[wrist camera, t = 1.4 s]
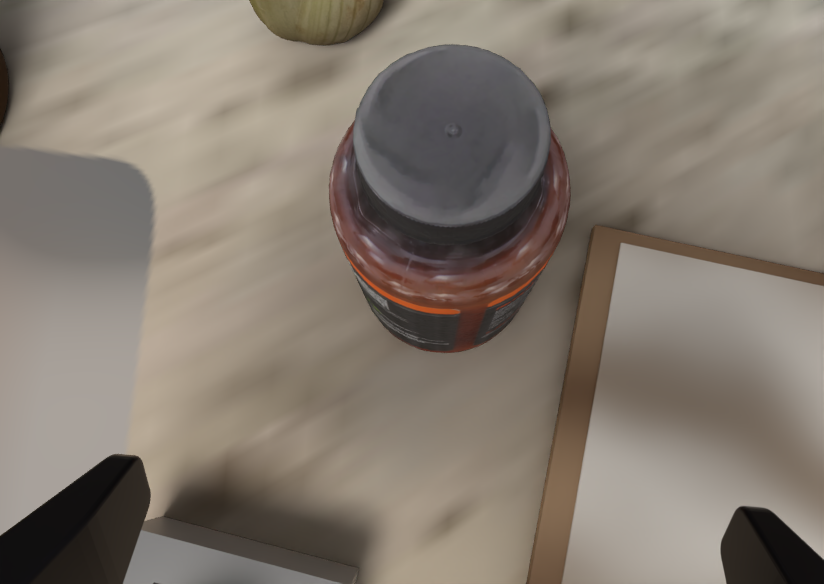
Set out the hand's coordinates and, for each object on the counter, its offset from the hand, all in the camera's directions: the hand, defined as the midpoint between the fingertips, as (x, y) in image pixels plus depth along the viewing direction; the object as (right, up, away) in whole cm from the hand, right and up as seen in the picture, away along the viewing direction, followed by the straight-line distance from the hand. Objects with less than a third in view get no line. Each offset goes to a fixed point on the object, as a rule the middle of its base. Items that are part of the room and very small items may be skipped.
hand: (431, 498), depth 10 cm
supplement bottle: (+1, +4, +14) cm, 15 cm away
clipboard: (+12, -3, +12) cm, 17 cm away
